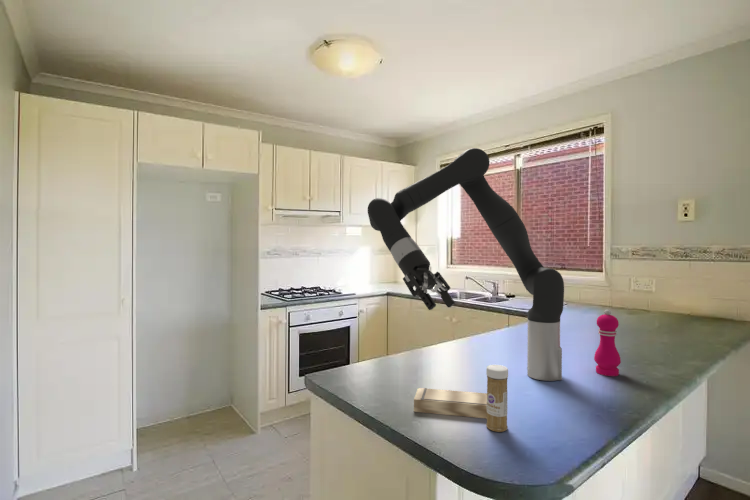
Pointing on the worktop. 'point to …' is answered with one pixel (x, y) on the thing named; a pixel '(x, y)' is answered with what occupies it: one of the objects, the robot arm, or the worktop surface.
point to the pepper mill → (607, 346)
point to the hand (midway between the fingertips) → (442, 306)
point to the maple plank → (451, 402)
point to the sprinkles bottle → (497, 397)
